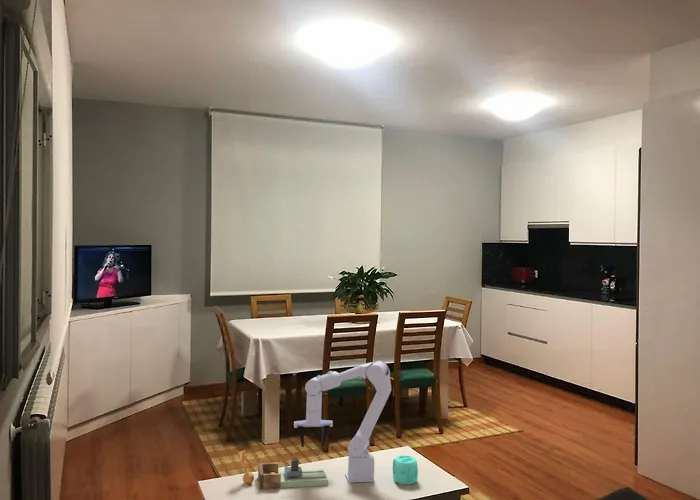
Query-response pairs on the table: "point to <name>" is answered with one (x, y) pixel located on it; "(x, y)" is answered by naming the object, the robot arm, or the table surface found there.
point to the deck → (305, 479)
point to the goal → (269, 476)
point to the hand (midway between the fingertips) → (312, 445)
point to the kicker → (293, 469)
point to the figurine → (248, 476)
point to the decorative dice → (405, 470)
